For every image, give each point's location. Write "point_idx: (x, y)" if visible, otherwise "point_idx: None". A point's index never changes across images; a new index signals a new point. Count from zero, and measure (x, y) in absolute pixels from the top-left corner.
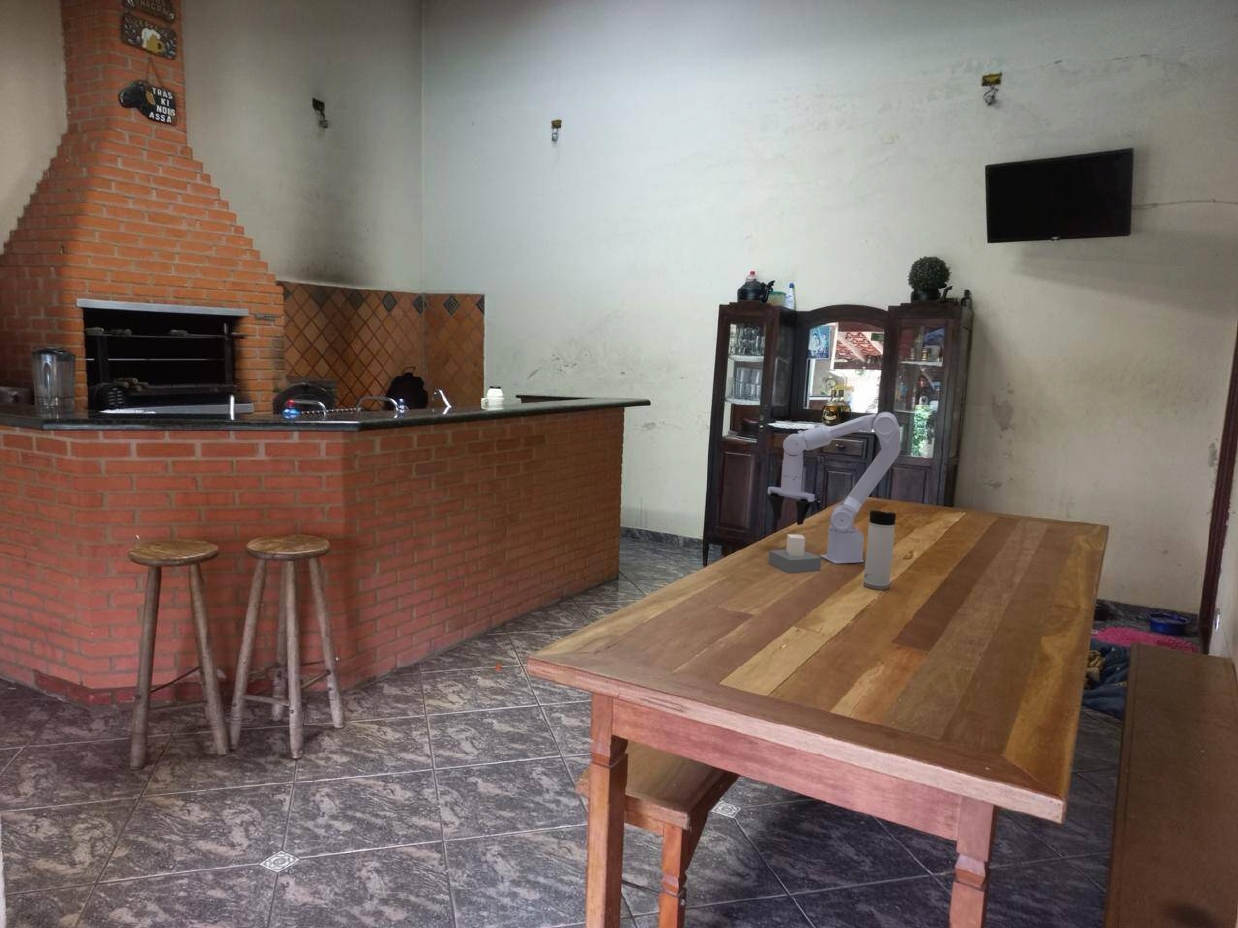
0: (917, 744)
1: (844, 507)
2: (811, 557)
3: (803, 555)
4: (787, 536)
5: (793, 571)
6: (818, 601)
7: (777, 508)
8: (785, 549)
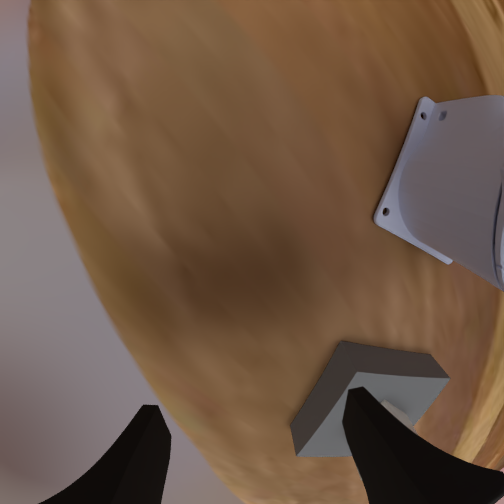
0: (497, 470)
1: None
2: (427, 400)
3: (406, 416)
4: (359, 473)
5: None
6: (452, 446)
7: (151, 497)
8: (326, 418)
